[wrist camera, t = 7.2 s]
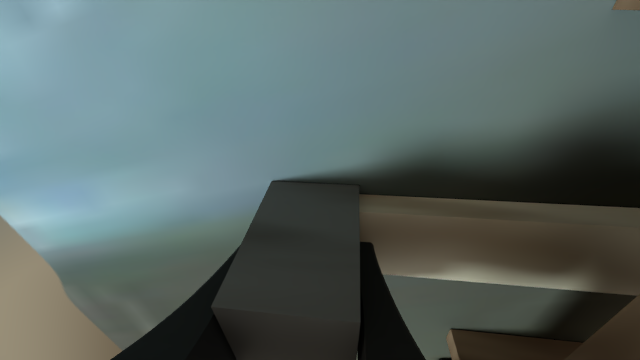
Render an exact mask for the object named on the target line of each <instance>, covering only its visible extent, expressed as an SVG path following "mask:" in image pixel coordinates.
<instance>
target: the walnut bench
mask: <svg viewBox="0 0 640 360" xmlns="http://www.w3.org/2000/svg"><path fill="white" fill-rule="evenodd" d="M612 10H640V0H617V1H616V3H615V5H614V7H613V9H612ZM446 339H447V343H448V347H449V350H450V354H451V358H452V360H640V294H639V295H638V296H637V297H636V298H635V299H633V300H632V301H631V302H630V303H629V304H628V305H626V306H625V307H624V308H623V309H622V310H621V311H620V312H618V313H617V314H616V315H615V316H614V317H613V318H611V319H610V320H609V321H608V322H607V323H606V324H605V325H603V326H602V327H601V328H600V329H599V330H598V331H596V332H595V333H594V334H593V335H592V336H591V337H590V338H588V339H587V340H586V341H585V342H584V343H580V342H571V341H561V340H551V339H542V338H532V337H522V336H513V335H503V334H493V333H484V332H474V331H464V330H455V329H450V331H449V333H448V335H447V337H446Z"/></svg>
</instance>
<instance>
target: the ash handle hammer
mask: <svg viewBox="0 0 640 360" xmlns="http://www.w3.org/2000/svg"><path fill="white" fill-rule="evenodd" d="M360 242H371V243H372V244H373V245H374V250H375V254H376V257H377V260H378V264H379V266H380V269H381V272H382V274H386V275H397V276H409V277H421V278H433V279H445V280H457V281H469V282H481V283H493V284H504V285H516V286H528V287H540V288H552V289H564V290H576V291H588V292H600V293H612V294H623V295H635V296H638V295H639V294H640V208H627V207H607V206H587V205H566V204H546V203H526V202H506V201H486V200H465V199H445V198H425V197H405V196H385V195H364V194H359V185H343V184H321V183H299V182H277V181H271V184H270V186H269V188H268V190H267V192H266V194H265V196H264V198H263V200H262V202H261V204H260V206H259V208H258V210H257V213H256V215H255V217H254V219H253V221H252V223H251V225H250V227H249V229H248V231H247V233H246V235H245V237H244V239H243V241H242V244H241V246H240V248H239V250H238V252H237V254H236V256H235V258H234V260H233V262H232V264H231V266H230V268H229V270H228V272H227V275H226V277H225V279H224V281H223V283H222V285H221V287H220V289H219V291H218V293H217V295H216V297H215V299H214V301H213V303H212V306H211V308H212V310H213V312H214V314H215V316H216V318H217V320H218V322H219V324H220V327H221V329H222V331H223V333H224V335H225V337H226V339H227V341H228V343H229V345H230V347H231V349H232V351H233V353H234V355H235V357H236V359H237V360H356V357H357V348H358V340H359V331H360Z"/></svg>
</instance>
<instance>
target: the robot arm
mask: <svg viewBox="0 0 640 360" xmlns="http://www.w3.org/2000/svg"><path fill="white" fill-rule="evenodd" d="M240 246H241V245H240ZM240 246H239V247H238V248H237V250H236V251H235V252H234V253H233V254H232V255H231V256H230V257H229V259H228V260H227V261H226V262H225V263H224V264H223V265H222V266H221V267H220V268H219V269H218V270H217V271H216V272H215V274H214V275H213V276H212V277H211V278H210V279H209V280H208V281H207V282H206V283H205V284H204V285H202V286H201V287H200V288H199V289H198V290H197V291H196V292H195V293H194V294H193V295H192V296H191V297H190V298H189V299H188V300H187V301H186V302H184V303H183V304H182V305H181V306H180V307H179V308H178V309H176V310H175V311H174V312H173V313H172V314H171V315H169V316H168V317H167V318H166V319H164V320H163V321H162V322H161V323H159V324H158V325H157V326H156V327H155V328H153V329H152V330H151V331H149V332H148V333H147V334H145V335H144V336H143V337H142V338H140V339H139V340H137V341H136V342H135V343H133V344H132V345H130V346H129V347H128V348H126V349H125V350H123V351H122V352H121V353H119V354H118V355H116V356H115V357H114V358H112V359H111V360H237V359H236V357H235V355H234V353H233V351H232V349H231V347H230V345H229V343H228V341H227V339H226V337H225V335H224V333H223V331H222V329H221V327H220V324H219V322H218V320H217V318H216V316H215V314H214V312H213V310H212V308H211V306H212V303H213V301H214V299H215V297H216V295H217V293H218V291H219V289H220V287H221V285H222V283H223V281H224V279H225V277H226V275H227V272H228V270H229V268H230V266H231V264H232V262H233V260H234V258H235V256H236V254H237V252H238V250H239V248H240ZM357 351H358V360H426V359H425V358H424V356H423V354H422V353H421V351H420V349H419V348H418V346H417V344H416V342H415V341H414V339H413V337H412V335H411V334H410V332H409V330H408V328H407V326H406V324H405V323H404V321H403V319H402V317H401V315H400V313H399V311H398V309H397V307H396V305H395V303H394V300H393V298H392V296H391V294H390V291H389V289H388V287H387V284H386V282H385V280H384V277H383V275H382V272H381V269H380V266H379V264H378V260H377V257H376V254H375V250H374V245H373V244H372V243H371V242H360V331H359V340H358V348H357Z"/></svg>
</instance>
